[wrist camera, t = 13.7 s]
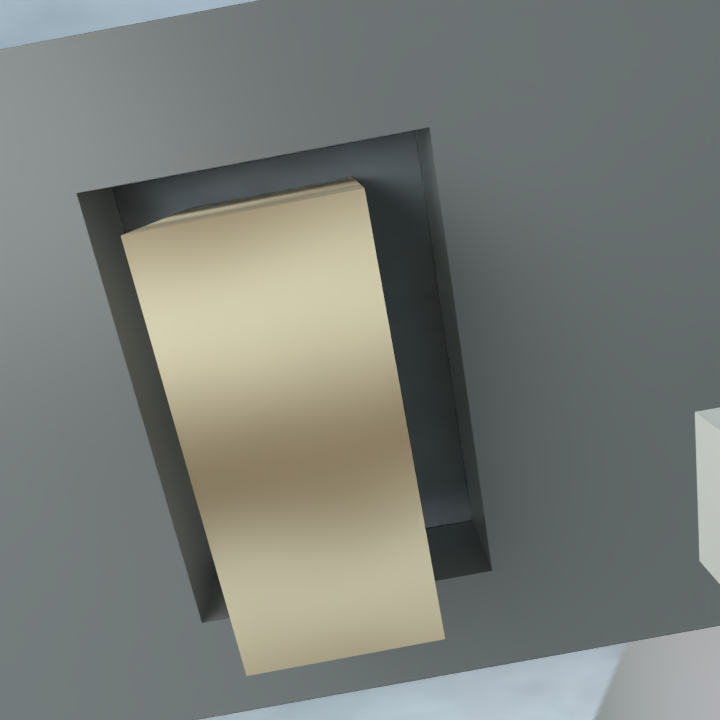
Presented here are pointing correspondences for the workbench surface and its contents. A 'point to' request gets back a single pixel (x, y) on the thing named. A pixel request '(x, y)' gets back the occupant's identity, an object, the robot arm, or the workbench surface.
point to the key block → (291, 421)
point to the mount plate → (459, 311)
